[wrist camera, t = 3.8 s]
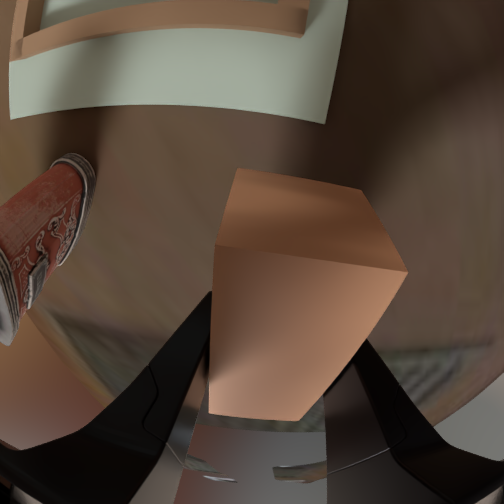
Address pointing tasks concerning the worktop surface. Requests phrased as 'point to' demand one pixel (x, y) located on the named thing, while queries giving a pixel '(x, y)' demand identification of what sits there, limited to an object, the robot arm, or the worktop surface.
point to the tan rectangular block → (293, 292)
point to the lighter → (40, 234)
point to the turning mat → (176, 54)
